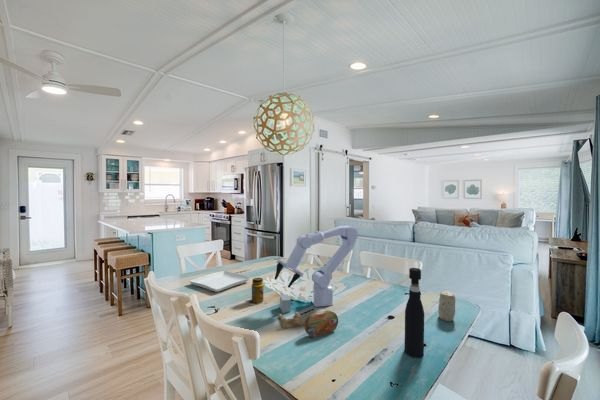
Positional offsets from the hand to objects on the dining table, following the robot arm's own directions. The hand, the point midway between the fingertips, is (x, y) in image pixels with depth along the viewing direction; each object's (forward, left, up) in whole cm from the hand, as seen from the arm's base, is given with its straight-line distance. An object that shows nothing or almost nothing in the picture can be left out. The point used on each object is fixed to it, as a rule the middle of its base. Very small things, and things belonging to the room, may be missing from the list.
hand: (281, 283), depth 138 cm
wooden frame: (-2, +14, -13) cm, 19 cm away
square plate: (+30, -46, -13) cm, 57 cm away
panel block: (-2, +1, -13) cm, 13 cm away
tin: (-12, +27, -13) cm, 32 cm away
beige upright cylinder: (-70, +28, -13) cm, 77 cm away
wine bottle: (-39, +48, -13) cm, 63 cm away
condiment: (+11, -12, -13) cm, 21 cm away
